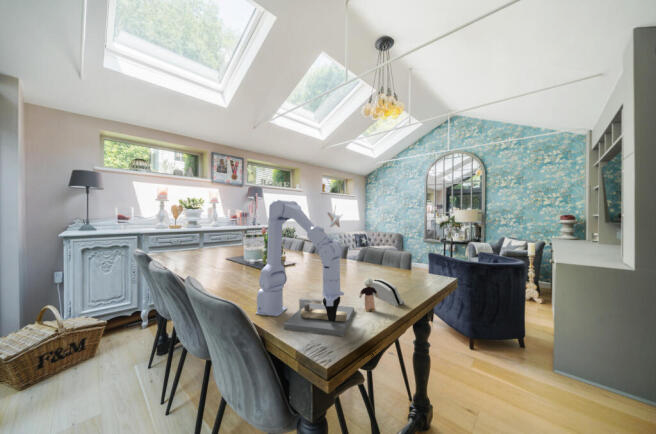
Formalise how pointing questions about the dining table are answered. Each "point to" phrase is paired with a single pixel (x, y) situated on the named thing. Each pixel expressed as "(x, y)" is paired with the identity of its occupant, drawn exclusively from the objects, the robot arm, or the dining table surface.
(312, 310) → the link
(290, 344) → the dining table surface
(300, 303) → the keeper
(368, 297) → the grandmother figurine
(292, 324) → the board
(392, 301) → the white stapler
